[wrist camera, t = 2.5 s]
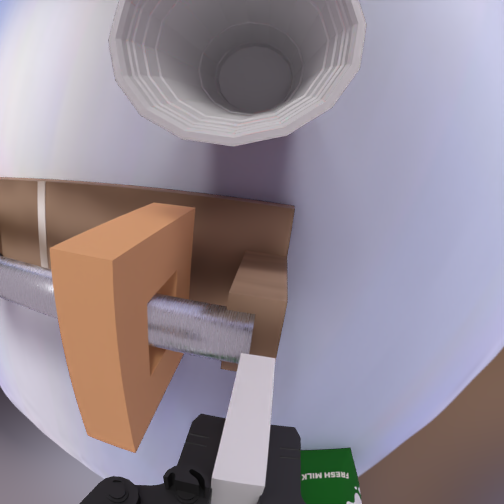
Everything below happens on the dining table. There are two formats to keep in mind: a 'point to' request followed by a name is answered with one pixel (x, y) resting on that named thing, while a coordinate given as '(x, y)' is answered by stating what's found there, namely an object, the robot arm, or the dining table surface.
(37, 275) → the steel pipe
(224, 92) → the plastic cup
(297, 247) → the dining table surface
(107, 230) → the collar
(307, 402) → the dining table surface
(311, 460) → the milk carton
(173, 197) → the pipe stand
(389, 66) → the dining table surface
